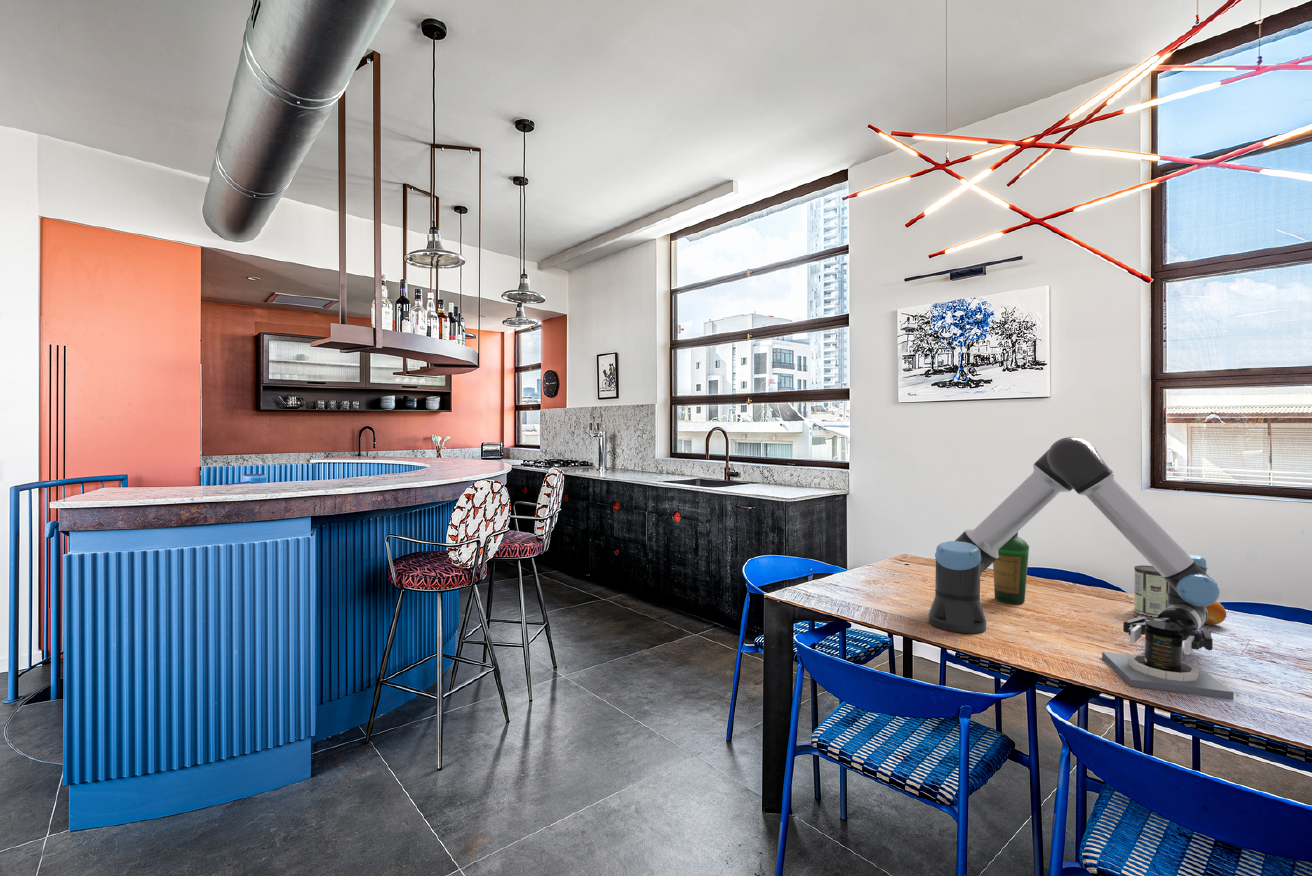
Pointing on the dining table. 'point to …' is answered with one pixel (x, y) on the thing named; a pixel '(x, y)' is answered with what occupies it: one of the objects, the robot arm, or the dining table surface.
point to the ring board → (1166, 676)
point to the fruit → (1215, 613)
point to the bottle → (1011, 571)
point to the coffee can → (1149, 591)
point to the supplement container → (1163, 646)
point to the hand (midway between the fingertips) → (1158, 642)
